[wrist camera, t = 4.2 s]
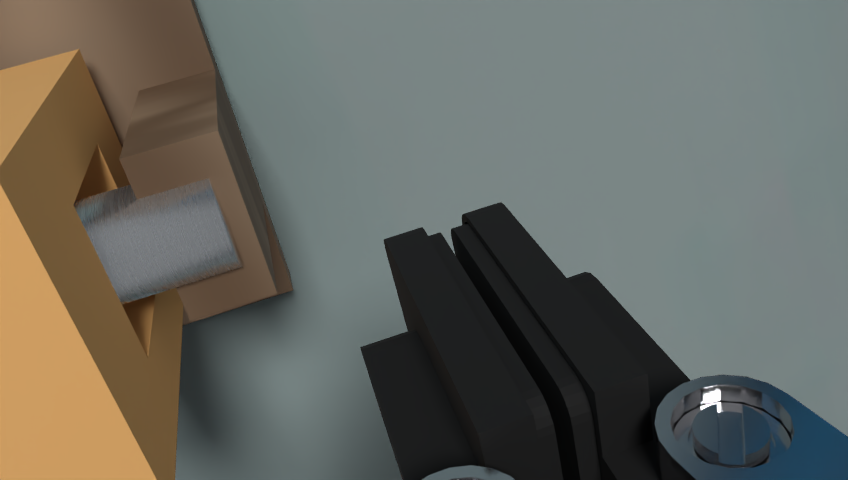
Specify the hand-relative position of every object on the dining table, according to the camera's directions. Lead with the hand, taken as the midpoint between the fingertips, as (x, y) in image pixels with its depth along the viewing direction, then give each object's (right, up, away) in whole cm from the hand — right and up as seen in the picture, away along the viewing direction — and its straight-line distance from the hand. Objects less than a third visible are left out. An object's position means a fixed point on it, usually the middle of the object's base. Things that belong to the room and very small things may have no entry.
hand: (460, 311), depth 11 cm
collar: (-9, +2, +9) cm, 13 cm away
